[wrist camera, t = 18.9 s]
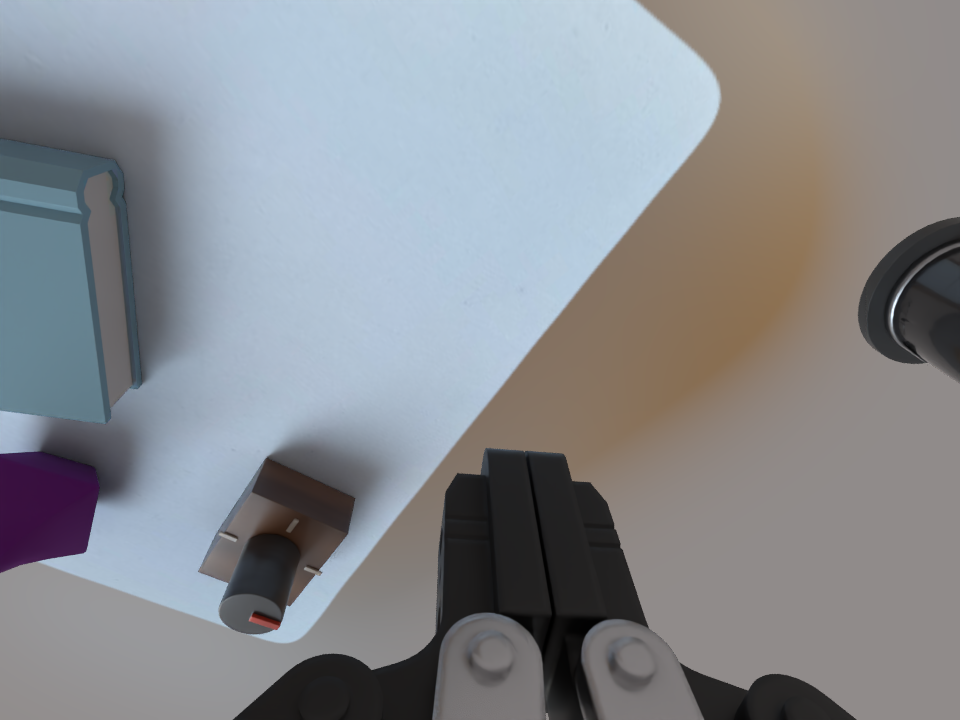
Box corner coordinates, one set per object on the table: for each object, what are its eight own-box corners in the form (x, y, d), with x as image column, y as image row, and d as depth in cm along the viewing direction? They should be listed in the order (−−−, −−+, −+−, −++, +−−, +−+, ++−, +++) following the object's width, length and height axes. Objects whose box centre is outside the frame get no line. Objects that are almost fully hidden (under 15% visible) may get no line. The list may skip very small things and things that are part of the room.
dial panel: (262, 455, 45) (246, 491, 41) (358, 499, 48) (351, 536, 44) (212, 532, 49) (193, 572, 45) (303, 569, 51) (292, 609, 48)
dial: (234, 560, 45) (206, 626, 40) (256, 525, 43) (230, 589, 38) (286, 579, 46) (266, 645, 41) (309, 546, 44) (292, 610, 39)
